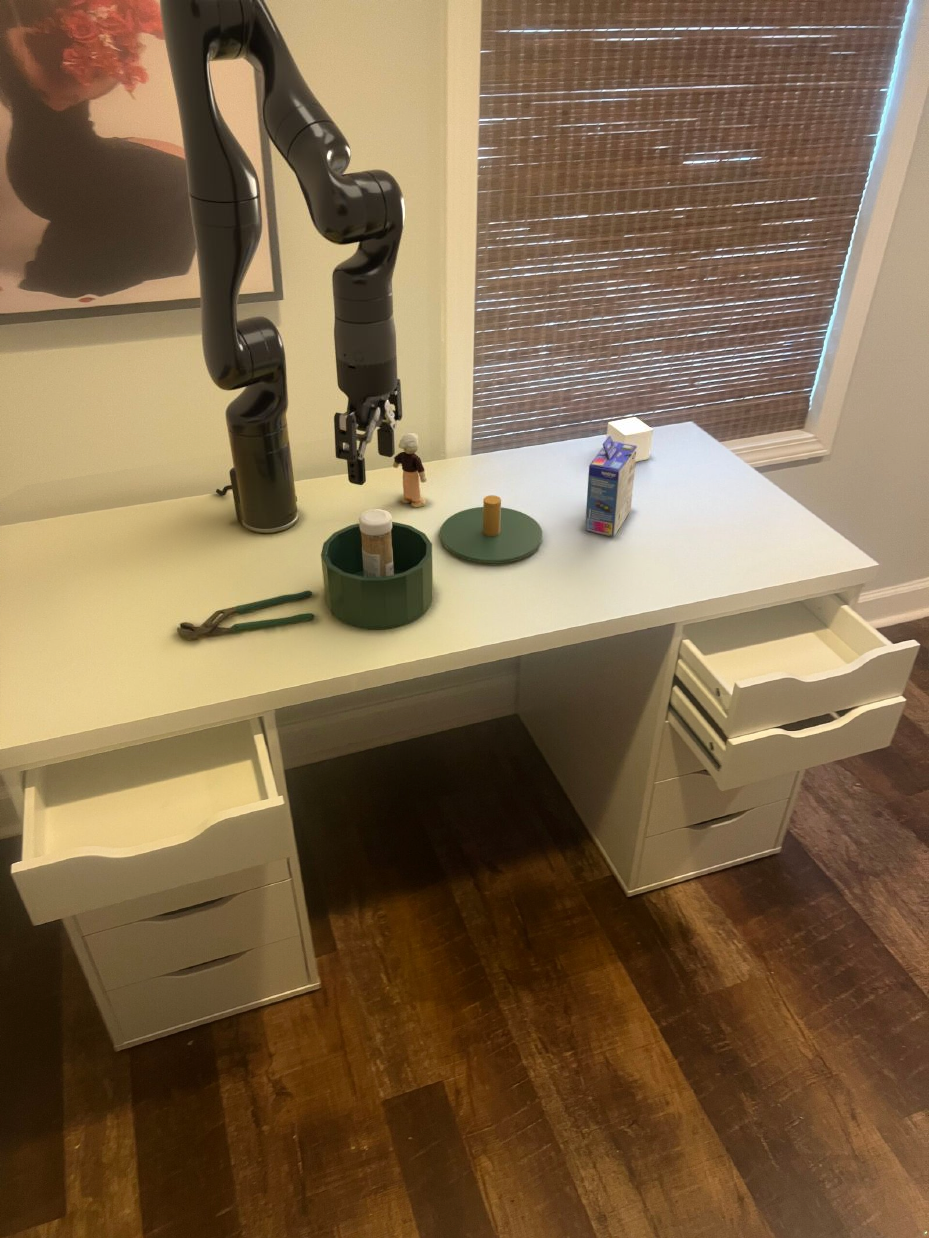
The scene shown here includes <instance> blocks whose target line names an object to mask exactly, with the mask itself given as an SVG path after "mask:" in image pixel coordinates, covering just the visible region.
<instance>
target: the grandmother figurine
mask: <svg viewBox="0 0 929 1238" xmlns="http://www.w3.org/2000/svg"><path fill="white" fill-rule="evenodd" d="M398 448H400V450H403V451H400V452H399V453H398V454H396V455H395V456H393V459H394V460H393V463H392V467H393V468H394V469H399V467H400V465H401V469H402V489H403V498H402V499H401V503H403V504H409V503H410V506H411V507H412V508H421V507H425V506H426V505H427V502H426V501H427V500H425V499H424V498H423V497H421V495H422V494H421V487H420V482H421V483H423V484H424V483H426V482H427V477H426V472H425V468H424V464H423V462H422V460H421V458H420V457H419V456H418V455H417V454H416V453H417V451H418V449H419V437H418V435H417V434H416V433H414V432H408V433H406V434H404V435H403V436H402V437H401V439H400V440H399V443H398Z"/></svg>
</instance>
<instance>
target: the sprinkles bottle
mask: <svg viewBox="0 0 929 1238" xmlns="http://www.w3.org/2000/svg"><path fill="white" fill-rule="evenodd" d="M392 522H393V517H392V514H391V513H390V512H389V511H387V510H384V509H380V508H373V509H368V510H366V511H363V512H362V513H361V514H360V515H359V517H358V524H359V526H360V531H361V537H362V557H363V570H364V577H386V576H390V575H394V567H393V551H392V539H391V530H392Z"/></svg>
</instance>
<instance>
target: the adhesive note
mask: <svg viewBox="0 0 929 1238" xmlns="http://www.w3.org/2000/svg"><path fill="white" fill-rule="evenodd" d="M653 431H654V429H653V428H652V427H650V426H649V425H647V424H646V423H645V422H643V421H642V420H640V419H639V418H637V417H635V416H634V417H628V418H624V419H618V420H614V421H609V422H607V428H606V438H605V440H606V439H607V438H608V437H609V436H611V438H612V440H613V441H614V442H619V443H624V444H629V445H635V446H637V454H636V463H637V462H641V461H646V460H649V459H650V452H651V447H652V446H651V445H652V438H653Z"/></svg>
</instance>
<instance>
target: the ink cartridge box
mask: <svg viewBox="0 0 929 1238" xmlns="http://www.w3.org/2000/svg"><path fill="white" fill-rule="evenodd" d="M636 454H637V446H635V445H629V444H624V443H619V442H614V441H613V440H612V438H611V436H609V437H608V438H607V439H606V438H605V440H604V441H603V443H602V447H601V449H600V450H599V452H598V453H597V455H595V457H594V458H593V460H592V461H591V462H590V464H589V465H588V477H587V478H588V479H587V491H586V493H587V494H586V507H585V509H586V510H585V525H584V526H585V527H584V530H585V531H587V532H592V533H595V534H600V535H604V536H607V537H612V538H613V537H615V536H616V534H617V533H618V531H619V530H620V528H621V526H622V525H623V524H624V522H625V520H626V519H627V517H628V515H629V514H630V512H631V511H632V501H633V492H634V491H633V490H634V483H635V482H634V481H635V472H636V463H637V462H636Z"/></svg>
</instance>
